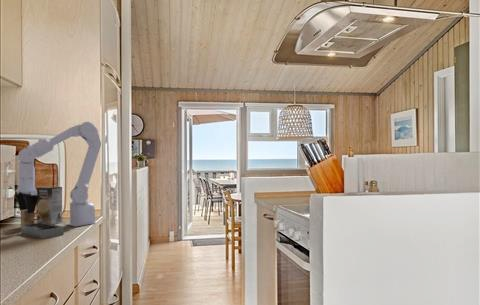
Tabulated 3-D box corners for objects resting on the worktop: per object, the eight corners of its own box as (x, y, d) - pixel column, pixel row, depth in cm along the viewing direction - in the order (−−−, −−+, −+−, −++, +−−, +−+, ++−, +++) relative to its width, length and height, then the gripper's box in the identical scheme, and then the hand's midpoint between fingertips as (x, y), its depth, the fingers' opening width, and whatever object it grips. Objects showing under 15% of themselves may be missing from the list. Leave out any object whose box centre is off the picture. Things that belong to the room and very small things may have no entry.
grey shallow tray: (43, 229, 148) (43, 222, 148) (63, 234, 137) (63, 226, 137) (22, 233, 142) (22, 225, 142) (41, 238, 131) (40, 230, 131)
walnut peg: (30, 228, 151) (30, 209, 151) (34, 229, 148) (33, 209, 149) (20, 230, 148) (20, 210, 148) (24, 231, 146) (24, 211, 146)
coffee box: (35, 224, 161) (34, 187, 161) (47, 221, 167) (46, 186, 167) (51, 225, 158) (51, 187, 158) (63, 222, 164) (62, 186, 164)
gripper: (9, 178, 150) (9, 211, 150) (23, 179, 141) (23, 215, 141) (27, 177, 155) (28, 209, 155) (42, 178, 146) (42, 212, 146)
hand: (27, 212), depth 148 cm, fingers open, 7 cm apart
